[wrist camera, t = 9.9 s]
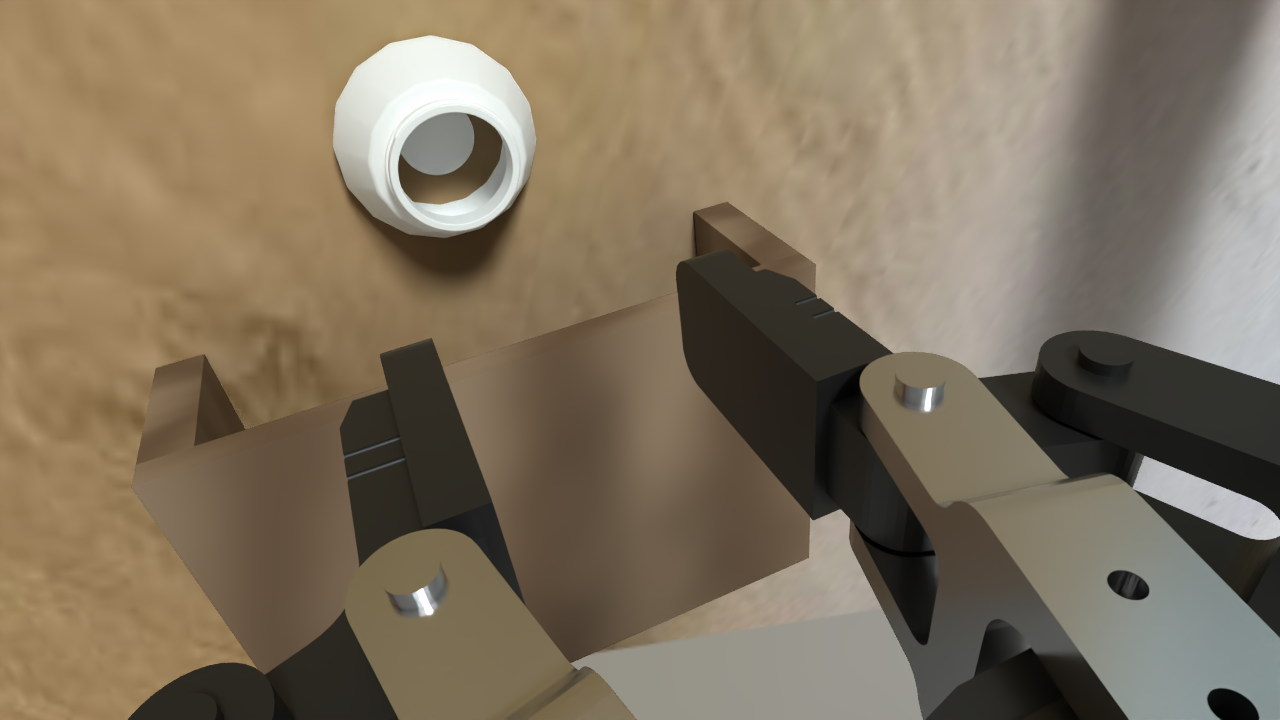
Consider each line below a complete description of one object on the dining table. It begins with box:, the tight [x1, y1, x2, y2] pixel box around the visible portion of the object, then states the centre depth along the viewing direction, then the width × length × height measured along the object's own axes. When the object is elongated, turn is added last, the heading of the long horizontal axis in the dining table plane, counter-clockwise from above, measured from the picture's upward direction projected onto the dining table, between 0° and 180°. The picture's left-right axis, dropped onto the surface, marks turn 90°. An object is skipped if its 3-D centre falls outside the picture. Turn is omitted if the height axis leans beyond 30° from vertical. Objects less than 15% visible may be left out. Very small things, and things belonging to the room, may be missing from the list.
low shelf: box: [131, 202, 816, 675], centre depth 24 cm, size 17×12×5 cm
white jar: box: [333, 35, 537, 238], centre depth 19 cm, size 5×3×5 cm
